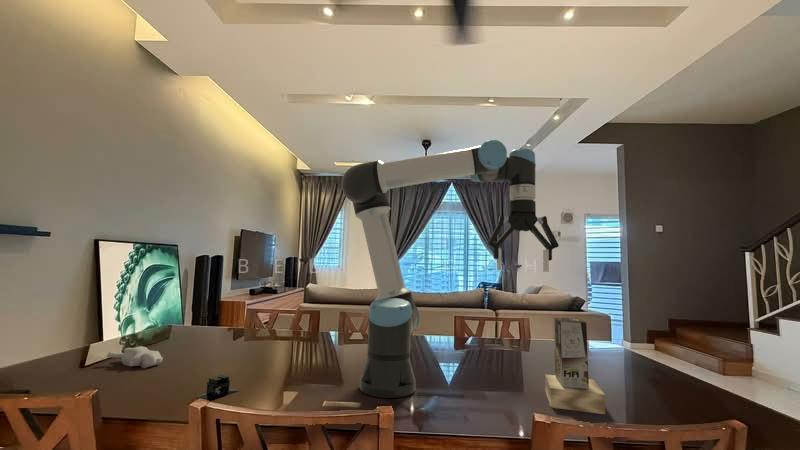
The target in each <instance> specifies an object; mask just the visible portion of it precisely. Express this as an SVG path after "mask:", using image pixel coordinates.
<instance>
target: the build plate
mask: <svg viewBox="0 0 800 450" xmlns="http://www.w3.org/2000/svg"><path fill="white" fill-rule="evenodd" d="M230 382H231V381H230V376H228V375H224V374H218V375H215V376H213V377H208V381H207V382H206V392H205V393H203V394H201V395H197V396H195V397H193V399H196V400H199V398H202V399H206V400H209V401H211V402H213V401H216V400H219V399H222V398H224V397H228V396H230V395H233V394H236V393H239V392H242V390H240V389H238V388H233V387H230Z"/></svg>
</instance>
